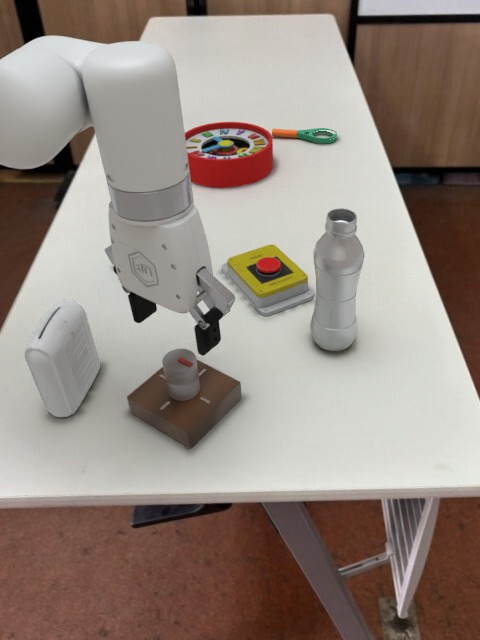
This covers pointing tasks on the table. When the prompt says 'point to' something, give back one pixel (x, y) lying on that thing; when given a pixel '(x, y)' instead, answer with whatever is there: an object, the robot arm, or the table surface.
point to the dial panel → (185, 404)
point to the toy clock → (229, 154)
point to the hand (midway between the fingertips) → (176, 331)
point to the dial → (181, 374)
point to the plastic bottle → (337, 281)
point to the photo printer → (62, 357)
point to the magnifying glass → (306, 134)
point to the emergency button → (268, 279)
